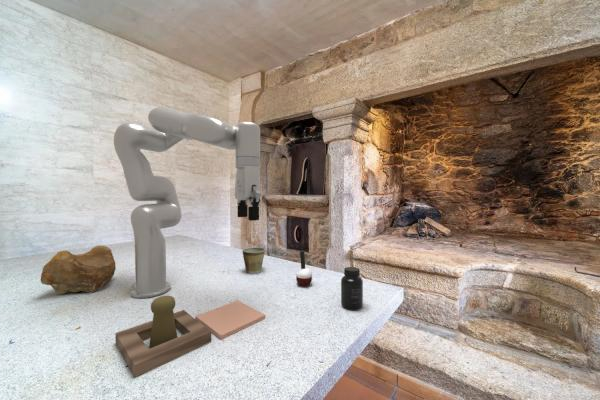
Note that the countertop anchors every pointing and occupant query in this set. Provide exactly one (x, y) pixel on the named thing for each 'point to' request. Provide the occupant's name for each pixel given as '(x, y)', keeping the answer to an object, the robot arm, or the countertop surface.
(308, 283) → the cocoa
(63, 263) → the rough brown rock
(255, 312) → the terracotta tile
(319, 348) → the countertop surface
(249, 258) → the ceramic cup
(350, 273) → the supplement bottle
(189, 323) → the frame
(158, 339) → the olive tall flared piece
